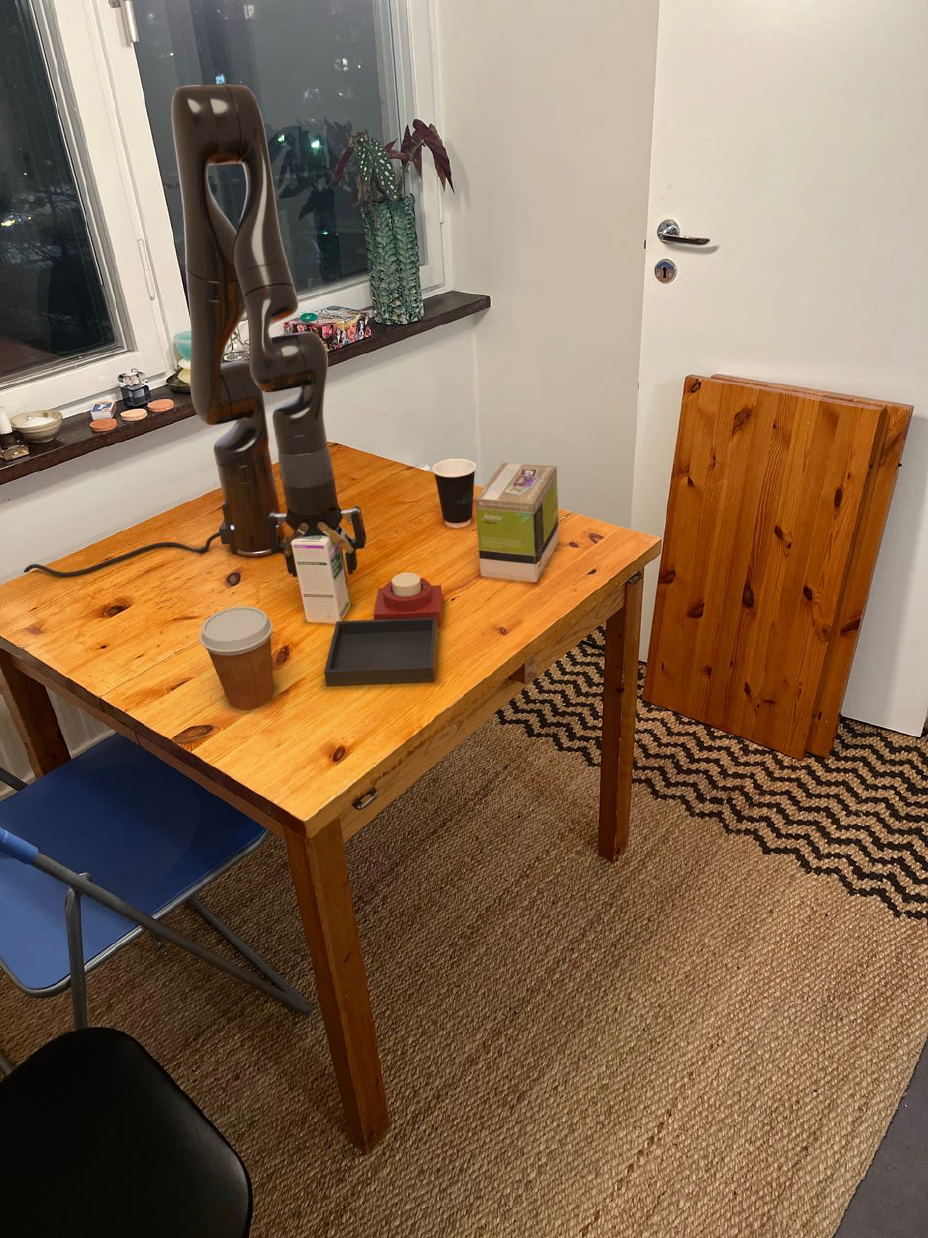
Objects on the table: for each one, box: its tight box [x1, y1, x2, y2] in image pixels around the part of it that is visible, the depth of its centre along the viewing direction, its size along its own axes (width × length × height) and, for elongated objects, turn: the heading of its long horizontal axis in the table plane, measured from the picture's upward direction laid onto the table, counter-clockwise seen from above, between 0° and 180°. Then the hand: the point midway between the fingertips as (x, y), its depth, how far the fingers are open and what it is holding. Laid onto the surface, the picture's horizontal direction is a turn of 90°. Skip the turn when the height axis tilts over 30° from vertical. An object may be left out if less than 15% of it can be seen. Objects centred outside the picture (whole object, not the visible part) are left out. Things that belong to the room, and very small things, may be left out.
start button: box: [391, 572, 421, 597], centre depth 140 cm, size 4×4×2 cm
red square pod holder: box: [373, 577, 443, 629], centre depth 142 cm, size 10×8×5 cm
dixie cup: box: [432, 458, 477, 529], centre depth 167 cm, size 8×8×11 cm
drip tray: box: [323, 617, 439, 688], centre depth 133 cm, size 15×13×3 cm
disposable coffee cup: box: [199, 606, 275, 710], centre depth 124 cm, size 10×10×12 cm
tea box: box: [474, 462, 560, 583], centre depth 152 cm, size 15×10×15 cm, turn 160°
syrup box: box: [291, 536, 352, 625], centre depth 141 cm, size 6×6×14 cm
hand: (323, 573), depth 141 cm, fingers open, 8 cm apart
